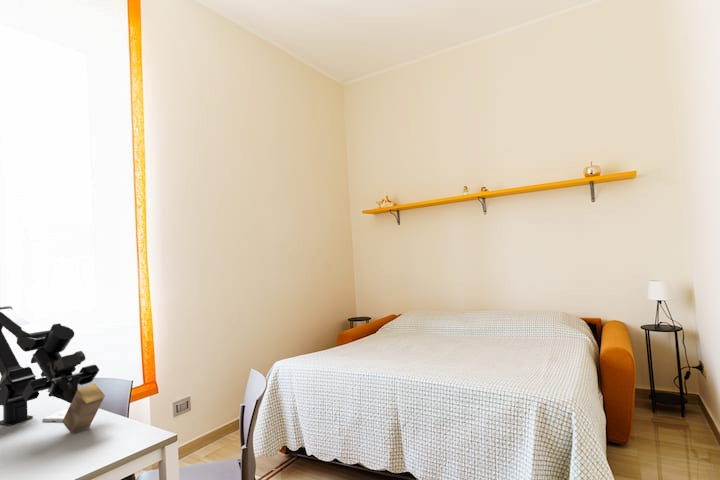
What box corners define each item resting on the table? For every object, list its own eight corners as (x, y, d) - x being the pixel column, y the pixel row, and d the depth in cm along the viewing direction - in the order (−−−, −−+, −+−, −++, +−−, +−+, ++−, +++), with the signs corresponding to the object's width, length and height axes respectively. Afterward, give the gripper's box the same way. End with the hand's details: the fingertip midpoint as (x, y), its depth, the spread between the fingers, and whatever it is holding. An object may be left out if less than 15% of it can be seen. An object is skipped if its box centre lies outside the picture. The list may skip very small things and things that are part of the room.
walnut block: (62, 421, 118) (77, 389, 115) (80, 415, 122) (95, 383, 120) (71, 434, 116) (87, 401, 114) (89, 427, 121) (105, 395, 118)
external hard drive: (97, 409, 138) (65, 423, 126) (76, 409, 139) (42, 423, 127) (97, 404, 138) (65, 418, 126) (76, 404, 139) (42, 418, 127)
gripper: (27, 351, 114) (53, 395, 109) (94, 338, 131) (119, 375, 126) (11, 379, 116) (36, 423, 111) (79, 362, 133) (103, 400, 129)
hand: (76, 403), depth 119 cm, fingers closed
